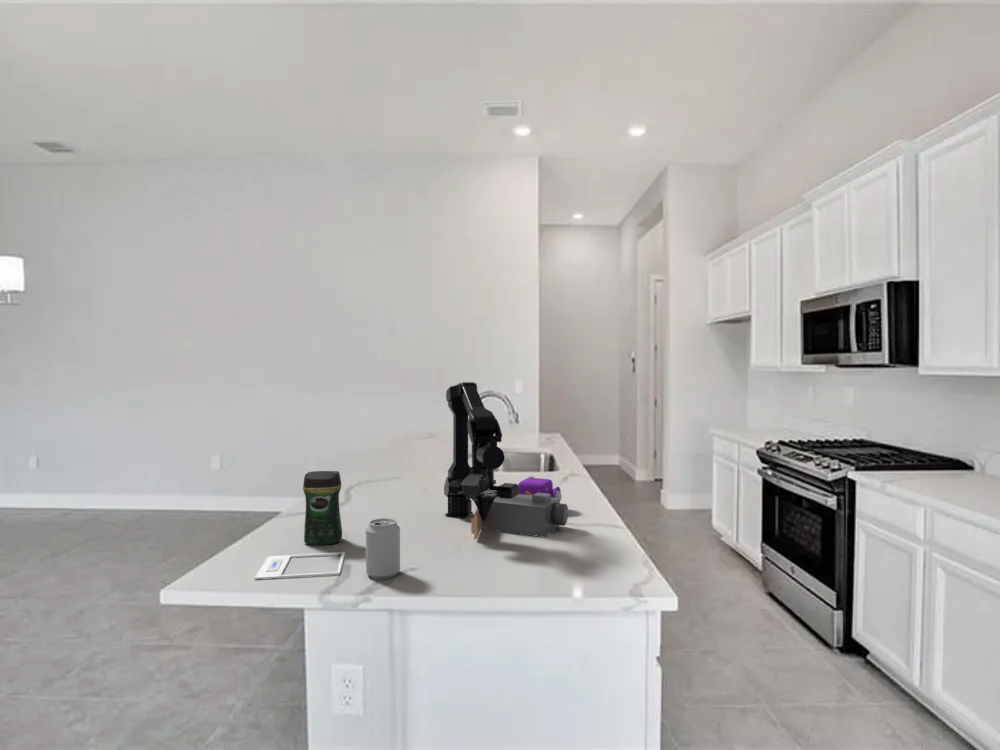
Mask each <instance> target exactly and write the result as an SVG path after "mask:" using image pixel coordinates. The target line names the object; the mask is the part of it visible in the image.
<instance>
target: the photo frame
mask: <svg viewBox="0 0 1000 750" xmlns="http://www.w3.org/2000/svg"><path fill="white" fill-rule="evenodd" d="M339 555H340V559H339V563H338V566H337V570H336V571H330V572H313V573H312V572H311V573H298V574H297V573H295V574H292V573H291V574H284V572H285V570H286V568H287V566H288V564H289V562H290V561H291V559H294V557H299V558H315V556H318V557H333V556H339ZM345 555H346V551H344V552H343V551H342V552H326V553H325V552H321V553H305V554H288V555H269V556H267V557H266V559H265V560H264V561H263V563H262V565H261V567H260V569H259V570H258V572H257V573H256V575H255V576H254V581H256V580H257V579H264V580H273V579H272V578H281V579H287V578H286V577H299V578H311V577H312V576H316V577H327V576H328V577H329V576H331V577H333V576H340V575H341V570H342V567H343V563H344V560H345V557H346V556H345ZM292 557H293V558H292ZM290 558H291V559H290ZM284 569H285V570H284ZM283 571H284V572H283ZM282 573H283V574H282ZM308 576H309V577H308ZM284 577H285V578H284ZM270 578H271V579H270ZM312 578H313V577H312ZM257 581H258V580H257Z"/></svg>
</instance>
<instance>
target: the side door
mask: <svg viewBox="0 0 1000 750" xmlns="http://www.w3.org/2000/svg"><path fill="white" fill-rule="evenodd" d="M470 527H471V529H470V530H471V532H470V533H471V535H472V534H473V537H474V538H473V539H474V540H477V539H478V537H479V535H480V532H481V529H482V528H481V527H482V519H481V517H480V514H479V511H478V509H477V508H476V509H475V512H474V515H473V517H471V525H470Z"/></svg>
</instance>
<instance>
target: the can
mask: <svg viewBox="0 0 1000 750" xmlns="http://www.w3.org/2000/svg"><path fill="white" fill-rule="evenodd" d="M397 523H398V521H397V519H395V518H389V517H386V518H376V519H371V520H370V521H368V526H367V527H366V528H365V572H366V574H368V575H369V577H370V578H372V579H378V580H384V579H391V578H393V577H395V576H396V575H397V574H398V573H399V572H400V571H401V527H400V526H399V525H398V524H397Z"/></svg>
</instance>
